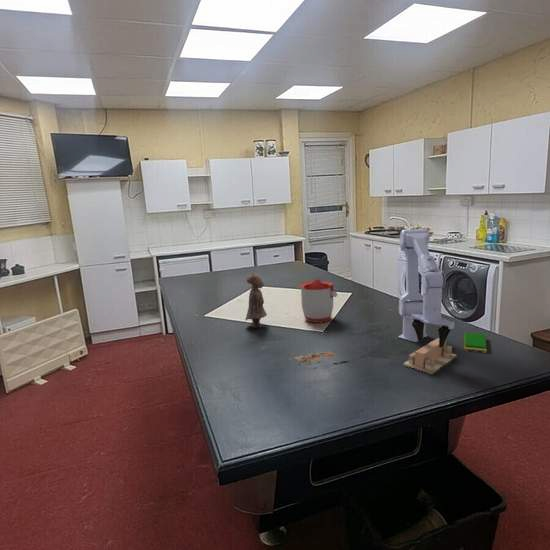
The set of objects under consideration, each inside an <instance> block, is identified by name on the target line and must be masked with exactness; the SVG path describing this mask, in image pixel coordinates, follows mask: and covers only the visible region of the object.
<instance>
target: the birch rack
mask: <svg viewBox="0 0 550 550" xmlns="http://www.w3.org/2000/svg"><path fill="white" fill-rule="evenodd" d="M429 343H430V342H428V343H427V344H429ZM452 349H453V348H452V346H449V345H446V347H445V348H444V351H443V355H442V356H440V357H439V358H437V359H436V360H434V358H431V357H429V358H428V359H426V360H425V367H424V368H422V367H418V366H415V351H414V352H412V353H409V355H408V359H407V361H405V362H404V363H403V366H404V365H405V366H404V367H406V366H408V367H407V368H409V367H411V368H410V369H412V368H415V369H417V370H416V371H418V370H420V371H419V372H421V371H423V372H422V373H424V372H427V373H430V374H432V373H433V374H435V373H436V372H437V371H436V370H438V369H439V368H440V367H442V366H443V365H445V364H446V363H448V362H449V361H450V362H452V361H453V360H454V359H453V358H455V357H456V358H457V354H455V353H452ZM456 358H455V359H456ZM452 359H453V360H452ZM451 360H452V361H451ZM450 362H449V363H450ZM449 363H448V364H449ZM446 365H447V364H446ZM446 365H445V366H446ZM443 367H444V366H443ZM443 367H442V368H443ZM415 369H414V370H415ZM439 370H440V369H439ZM439 370H438V371H439ZM435 371H436V372H435ZM434 372H435V373H434ZM427 373H426V374H427ZM430 374H429V375H430ZM433 374H432V375H433Z"/></svg>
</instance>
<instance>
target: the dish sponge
mask: <svg viewBox="0 0 550 550" xmlns="http://www.w3.org/2000/svg"><path fill="white" fill-rule="evenodd" d="M486 340H487V339H486V334H485V333H475V332H464V350H465V349H475V350H484V351H486V352H487V341H486Z"/></svg>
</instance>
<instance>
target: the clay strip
mask: <svg viewBox="0 0 550 550" xmlns="http://www.w3.org/2000/svg"><path fill="white" fill-rule="evenodd" d="M428 343H429V344H428ZM428 343H427V344H426V345H424V346H422V347H420V348H419V349H417V350H416V351H415V350H414V353H415V366H418V367H422V368H424V367H425V360H426V359H428V358H429V357H431V358H434V360H436V359H437V358H439V357H440V356H442V355H443V351H444V348H445V347H446V346H447V339H446V340H445V344H444V346H443V347H442V348H441V347H439V337H437V338H435V339H433V340H431V341H430V342H428Z"/></svg>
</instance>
